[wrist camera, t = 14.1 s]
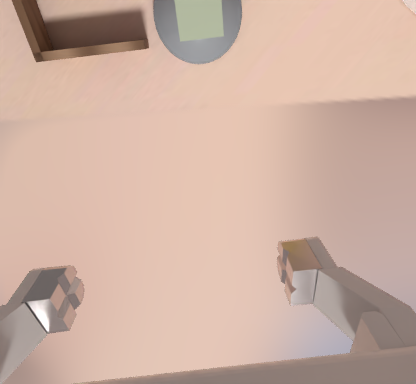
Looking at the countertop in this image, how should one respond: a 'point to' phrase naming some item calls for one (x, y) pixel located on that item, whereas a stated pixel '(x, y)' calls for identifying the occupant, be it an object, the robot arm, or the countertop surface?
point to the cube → (199, 19)
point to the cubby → (42, 46)
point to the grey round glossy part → (199, 48)
